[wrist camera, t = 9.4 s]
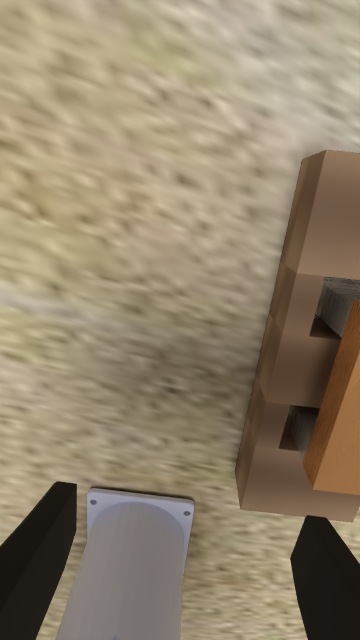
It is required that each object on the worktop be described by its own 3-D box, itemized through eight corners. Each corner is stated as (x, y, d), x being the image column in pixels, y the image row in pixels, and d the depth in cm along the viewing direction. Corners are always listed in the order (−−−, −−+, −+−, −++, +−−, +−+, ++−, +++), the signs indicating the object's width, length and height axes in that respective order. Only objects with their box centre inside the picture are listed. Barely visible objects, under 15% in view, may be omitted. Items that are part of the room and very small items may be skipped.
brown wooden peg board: (332, 482, 22) (352, 522, 19) (235, 470, 22) (240, 509, 19) (445, 175, 15) (502, 168, 12) (302, 159, 15) (326, 149, 12)
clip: (326, 416, 20) (375, 497, 15) (280, 410, 20) (312, 489, 15) (370, 281, 17) (454, 319, 12) (315, 275, 17) (373, 310, 12)
